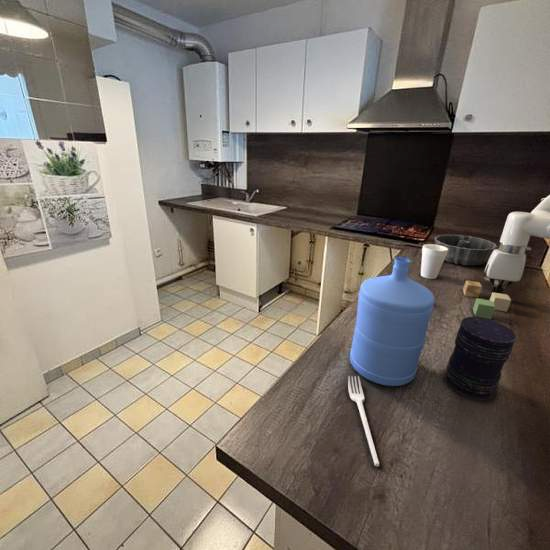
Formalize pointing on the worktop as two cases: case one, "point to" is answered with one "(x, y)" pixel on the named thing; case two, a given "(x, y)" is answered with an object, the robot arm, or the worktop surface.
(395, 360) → the water jug
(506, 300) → the beige block
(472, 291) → the maple block
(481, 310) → the sage block
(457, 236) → the bundt pan
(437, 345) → the worktop surface
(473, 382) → the dark blue cylinder
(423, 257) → the foam cup
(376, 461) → the fork
